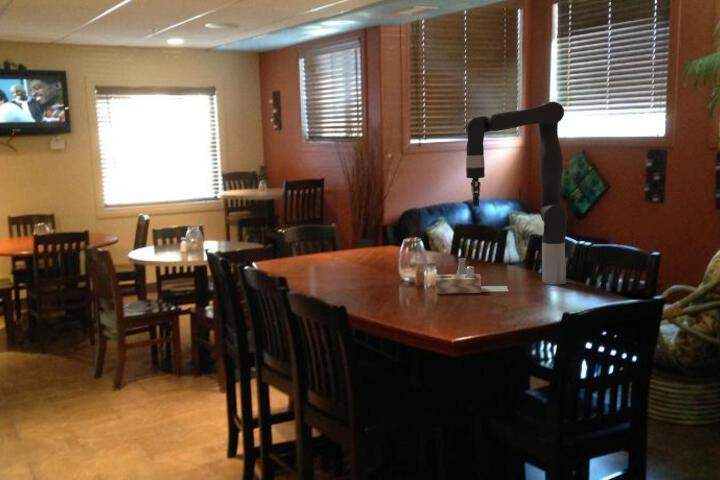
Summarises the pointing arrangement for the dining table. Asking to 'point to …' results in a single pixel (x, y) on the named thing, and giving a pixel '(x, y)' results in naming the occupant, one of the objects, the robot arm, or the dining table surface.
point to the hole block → (458, 284)
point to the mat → (493, 288)
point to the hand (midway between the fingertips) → (475, 205)
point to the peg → (470, 272)
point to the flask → (462, 266)
